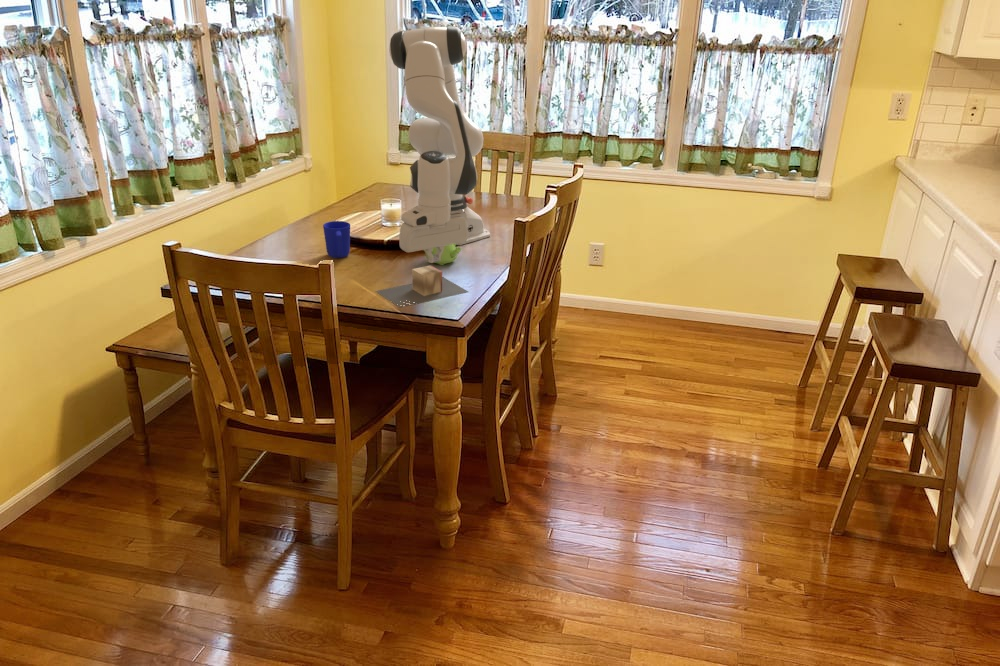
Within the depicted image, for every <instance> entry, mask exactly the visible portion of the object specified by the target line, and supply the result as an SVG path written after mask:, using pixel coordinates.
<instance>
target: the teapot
mask: <svg viewBox="0 0 1000 666" xmlns="http://www.w3.org/2000/svg"><path fill="white" fill-rule="evenodd" d="M456 246H457V245H456V244H451V245H446V246H444V251H443V253H442V255H441V261H439V262H434V263H433V264H438V265H439V266H444V265H445V264H450V263H452V262H454V261H455V260H456V259H457V256H458V254H459V253H460V252H461V251H462V248H461V247H460V246H457V247H456ZM437 249H438V248H436V247H435V248H433V251H432V252H431V253H432V255H434V254H436V251H437ZM423 251H424V253H425V257H426V259H427V260H428V261H429V259H428V255H427V253H426V251H425V250H423Z"/></svg>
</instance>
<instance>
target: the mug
mask: <svg viewBox="0 0 1000 666" xmlns="http://www.w3.org/2000/svg"><path fill="white" fill-rule="evenodd" d="M322 226H323V227H322V228H323V233H324V241H325V247H326V254H327V255H328V256H329V257H330V258H333V259H342V258H346V257H348V256H349V254H350V249H351V248H350V247H351V246H350V245H351V224H350V222H347V221H343V220H334V221H333V220H332V221H328V222H325V223H324V224H323V225H322Z"/></svg>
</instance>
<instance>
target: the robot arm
mask: <svg viewBox="0 0 1000 666" xmlns="http://www.w3.org/2000/svg"><path fill="white" fill-rule="evenodd" d="M466 53H467V41H466V37H465V36H464V34H463V30H462V29H460V28H459V27H457V26H453V25H447V26H425V27H422V28H415V29H410V30H406V31H405V30H400V31H397V32H395V33H393V34H392V36H391V38H390V41H389V56H390V58H391V61H392V63H393V65H394V66H396V67H397V69H401V70H404V85H405V95H406V99H407V103H408V104H409V106H410V108H412V109H413V110H414V111H415V112H417V113H418V114H419V115H422V116H423V117H422V118H418V119H414V121H413V122H412V123H411V125H410V126H409V128H408V133H407V134H408V140H409V143H410V145H411V146H412V148H413V149H414V150H415V151H416V152H418V154H419V158H418V159H416V160H415V161H414V162H413V163H412V164H411V165H410V166H409V170H410V184H409V185H410V186H409V187H410V188H411V189H412V190H413V191H415V192H416V193H417V194H418V200H417V205H416V206H415V207H413V208H411V209H409V210H407V211H405V212H403V213H402V214H401V216H400V217H401V221H402V222H403V223H402V224H401V225H400V227H399V228H400V229H399V239H398V240H399V248H400V249H401V250H402V251H404V252H406V253H407V254H408V253H413V252H419V251H424V250H425V251H426V253H427V255H428V259H429V260H428V259H427V260H428V263H431V264H435V263H434V262H439V261H441V255H442V253H443V251H444V246H446V245H451V244H456V246H462V245H466V244H468V243H473V242H476V241H479V240H483V239H486V238H489V237H491V233H490V231H489V230H487V228H485V227H484V222H483V219H482V217H481V216H480V215H479V214H478V213H476V212H475V211H474V210H472V209H471V208H470V207H468V205H467V204H469V205H472V204H473V201H474V199H473V198H472V197H469V196H468V197H466V196H467V195H468V194H470V193H471V192H472V191H473V190H474V189H475V188H476V187H477V182H478V171H477V168H476V166H475V162H474V159H473V157H475V156H477V155H478V154H479V153H480V152H481V150H482V149H483V146H484V140H485V139H484V134H483V131H482V129H481V128H480V126H479V125H477V123H475V122H473V120H471V118H470V117H469V115H468V114H467V113H466V112H465V110H464V109H463V106H462V104H461V101H460V99H459V94H458V93H459V92H458V89H457V88H458V87H457V84H456V77H455V75H456V74H455V69H454V66H455V65H458V64H460V63H461V62H462V61H464V59H465V56H466ZM449 156H451V157H454V158H450V157H449ZM435 247H436V248H438V249H437V251H436V254H434V255H432V253H431V252H432V251H433V248H435ZM425 251H424V252H425ZM426 253H425V254H426Z"/></svg>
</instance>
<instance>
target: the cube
mask: <svg viewBox="0 0 1000 666" xmlns="http://www.w3.org/2000/svg"><path fill="white" fill-rule="evenodd" d="M411 274H412V282H411V283H413V290H415V291H416V292H418V293H420V294H421V295H423V296H426V295H430V294H434V293H439V292H442V277H443V271H442V270H440V269H439V268H436V267H435V266H433V265H426V266H425V265H424V266H422V267H416V268H412V269H411Z"/></svg>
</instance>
